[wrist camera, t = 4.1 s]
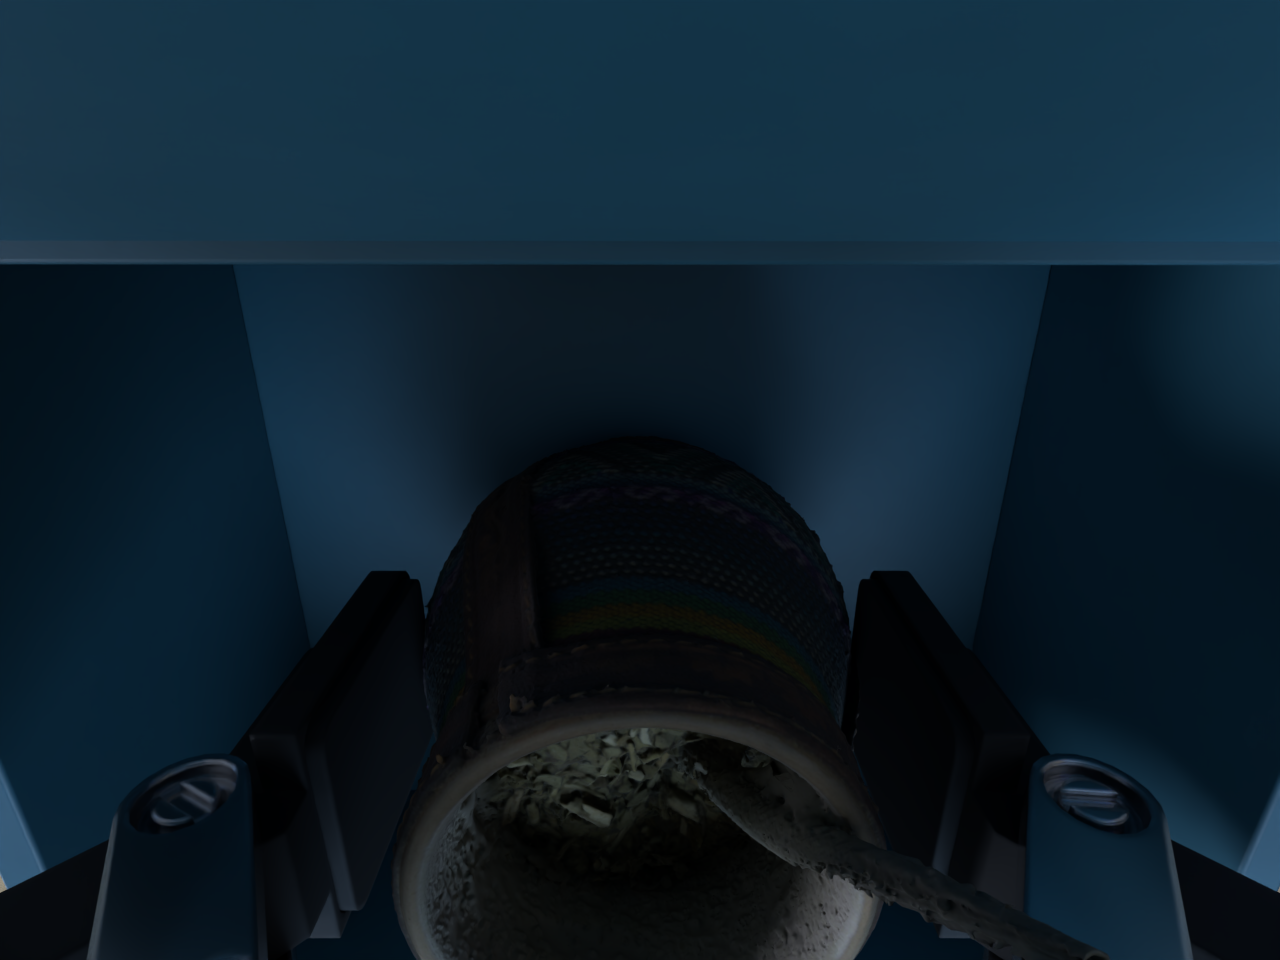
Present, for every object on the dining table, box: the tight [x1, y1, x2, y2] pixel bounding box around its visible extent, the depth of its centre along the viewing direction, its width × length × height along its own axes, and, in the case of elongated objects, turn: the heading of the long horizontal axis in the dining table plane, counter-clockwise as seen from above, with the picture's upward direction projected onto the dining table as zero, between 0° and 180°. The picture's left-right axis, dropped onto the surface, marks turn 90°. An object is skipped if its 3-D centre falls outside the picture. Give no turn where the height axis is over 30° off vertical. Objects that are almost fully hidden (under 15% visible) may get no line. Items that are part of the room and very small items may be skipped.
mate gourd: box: [391, 436, 1110, 960], centre depth 10 cm, size 7×8×10 cm
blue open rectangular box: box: [0, 241, 1280, 960], centre depth 12 cm, size 14×16×8 cm
